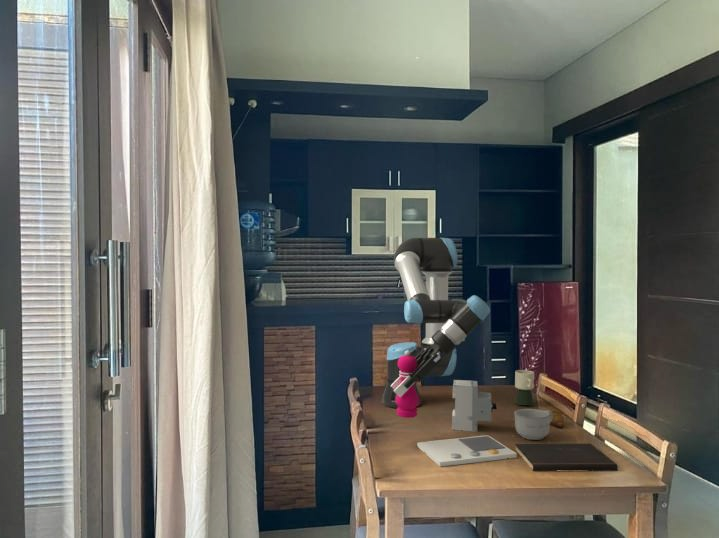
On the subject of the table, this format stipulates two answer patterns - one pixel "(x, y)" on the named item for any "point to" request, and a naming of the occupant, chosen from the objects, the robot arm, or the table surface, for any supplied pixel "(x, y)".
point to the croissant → (557, 419)
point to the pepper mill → (410, 397)
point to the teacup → (532, 423)
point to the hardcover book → (565, 457)
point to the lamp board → (465, 450)
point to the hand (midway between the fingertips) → (395, 391)
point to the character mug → (524, 387)
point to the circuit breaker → (470, 405)
